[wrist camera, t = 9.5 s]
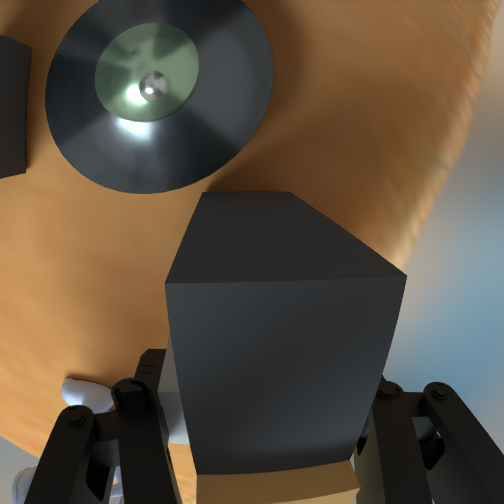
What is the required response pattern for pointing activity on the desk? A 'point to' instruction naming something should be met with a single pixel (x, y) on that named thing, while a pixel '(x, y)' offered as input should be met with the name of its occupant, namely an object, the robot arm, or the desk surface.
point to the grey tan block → (13, 105)
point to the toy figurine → (73, 394)
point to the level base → (158, 90)
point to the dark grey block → (277, 347)
